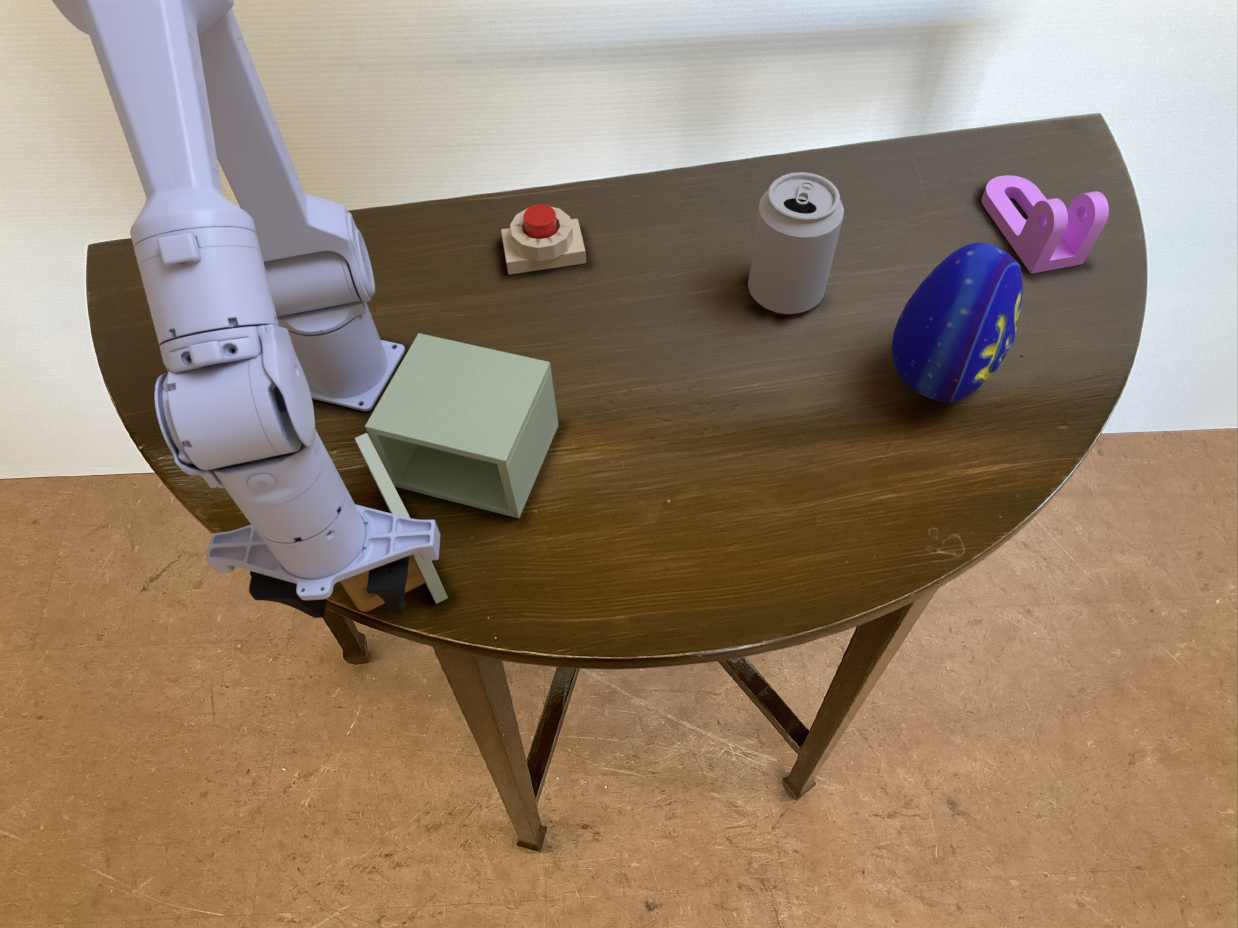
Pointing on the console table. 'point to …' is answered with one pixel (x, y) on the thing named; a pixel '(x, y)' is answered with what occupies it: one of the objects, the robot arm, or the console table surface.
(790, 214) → the can
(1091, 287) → the console table surface
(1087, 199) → the bracket
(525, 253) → the button box
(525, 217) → the button
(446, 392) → the cupboard
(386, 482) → the door
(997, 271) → the ornament
